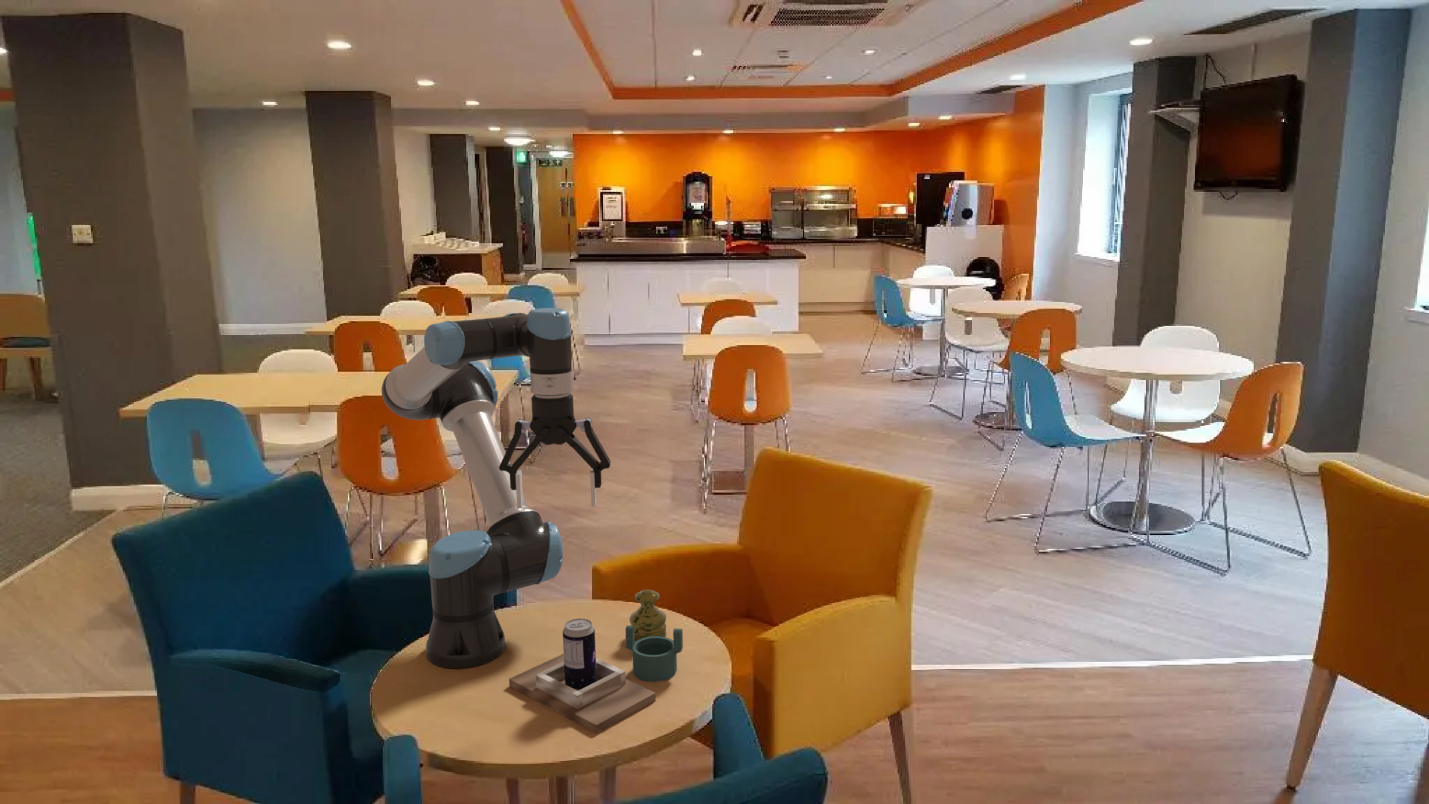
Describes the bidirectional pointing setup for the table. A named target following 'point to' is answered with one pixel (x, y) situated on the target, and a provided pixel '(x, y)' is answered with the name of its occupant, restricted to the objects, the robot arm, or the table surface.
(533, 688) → the can holder
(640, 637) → the brass calibration weight
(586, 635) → the beverage can
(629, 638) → the teal cauldron pot
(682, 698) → the table surface
